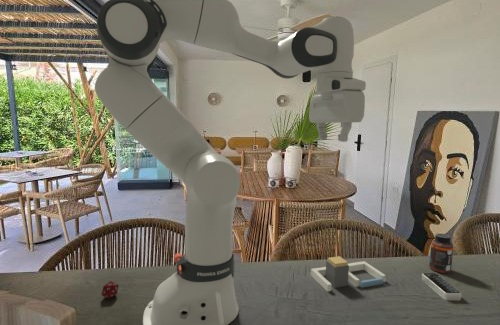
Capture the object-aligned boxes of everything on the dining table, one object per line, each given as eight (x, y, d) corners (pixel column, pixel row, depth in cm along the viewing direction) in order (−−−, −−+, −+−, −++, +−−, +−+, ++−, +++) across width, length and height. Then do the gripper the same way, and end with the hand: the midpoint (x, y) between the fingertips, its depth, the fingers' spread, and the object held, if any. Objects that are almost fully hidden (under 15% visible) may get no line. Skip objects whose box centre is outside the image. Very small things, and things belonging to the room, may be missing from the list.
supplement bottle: (454, 275, 92) (458, 239, 91) (433, 273, 93) (436, 238, 92) (446, 266, 98) (449, 232, 97) (426, 264, 99) (429, 231, 98)
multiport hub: (445, 301, 79) (445, 293, 78) (420, 280, 90) (421, 272, 89) (461, 301, 79) (462, 293, 78) (435, 280, 90) (435, 272, 89)
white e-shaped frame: (329, 293, 81) (329, 286, 81) (310, 275, 91) (310, 268, 91) (387, 283, 87) (387, 276, 87) (364, 267, 97) (364, 261, 96)
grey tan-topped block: (334, 288, 84) (335, 264, 83) (325, 280, 88) (326, 257, 88) (347, 285, 85) (349, 262, 85) (338, 278, 90) (339, 255, 89)
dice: (100, 302, 76) (99, 288, 76) (105, 293, 80) (104, 279, 80) (116, 301, 77) (115, 286, 76) (120, 291, 81) (119, 277, 81)
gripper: (304, 90, 86) (303, 138, 87) (346, 80, 66) (344, 143, 68) (323, 91, 87) (322, 138, 89) (370, 81, 68) (367, 142, 70)
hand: (332, 140), depth 78 cm, fingers open, 8 cm apart
